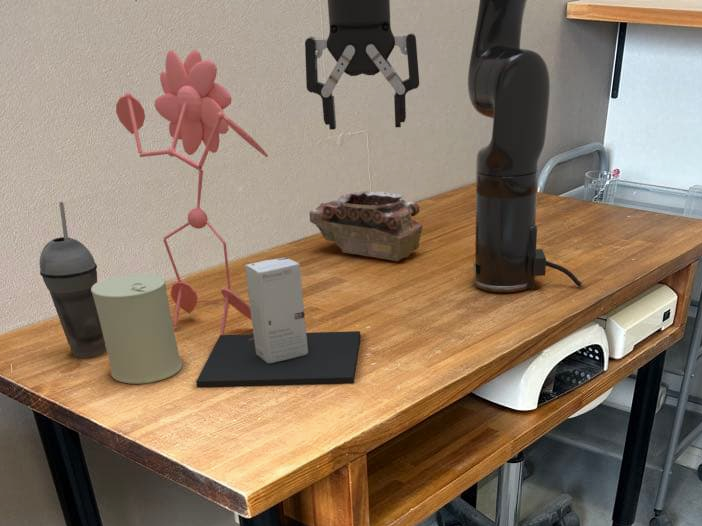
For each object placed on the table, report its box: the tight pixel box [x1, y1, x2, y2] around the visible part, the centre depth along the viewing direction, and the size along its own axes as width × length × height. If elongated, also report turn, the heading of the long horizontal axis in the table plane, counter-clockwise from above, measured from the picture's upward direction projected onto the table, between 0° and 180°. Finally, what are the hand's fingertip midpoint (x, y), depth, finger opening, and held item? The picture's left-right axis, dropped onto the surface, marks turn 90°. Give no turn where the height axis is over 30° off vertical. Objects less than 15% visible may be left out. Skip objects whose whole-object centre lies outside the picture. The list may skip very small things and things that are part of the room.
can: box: [91, 272, 183, 385], centre depth 111 cm, size 9×9×12 cm
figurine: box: [115, 49, 269, 340], centre depth 119 cm, size 15×26×35 cm, turn 59°
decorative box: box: [309, 190, 424, 262], centre depth 152 cm, size 13×20×10 cm, turn 53°
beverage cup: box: [39, 201, 107, 359], centre depth 114 cm, size 7×7×20 cm
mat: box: [195, 330, 361, 388], centre depth 115 cm, size 20×16×1 cm
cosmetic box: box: [244, 257, 308, 364], centre depth 111 cm, size 6×4×12 cm
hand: (365, 127), depth 112 cm, fingers open, 8 cm apart
